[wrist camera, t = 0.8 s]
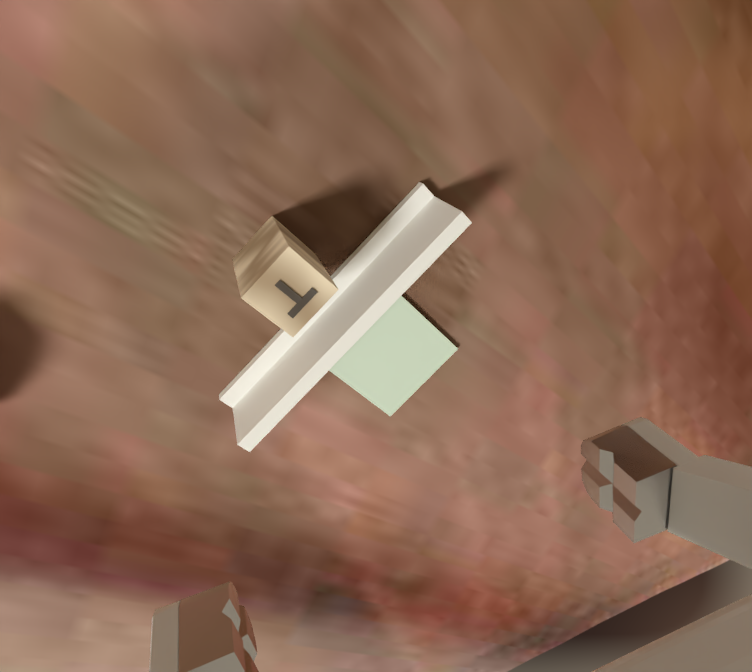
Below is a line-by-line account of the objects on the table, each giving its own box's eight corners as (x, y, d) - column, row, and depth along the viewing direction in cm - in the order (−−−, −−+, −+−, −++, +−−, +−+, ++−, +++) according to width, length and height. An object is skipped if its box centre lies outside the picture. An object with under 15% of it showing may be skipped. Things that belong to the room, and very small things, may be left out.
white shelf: (419, 181, 44) (450, 197, 39) (449, 215, 46) (482, 235, 41) (218, 394, 47) (222, 436, 41) (255, 417, 49) (263, 460, 43)
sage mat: (394, 288, 47) (395, 290, 47) (456, 346, 52) (458, 348, 51) (321, 363, 48) (322, 365, 48) (389, 414, 53) (390, 416, 52)
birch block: (272, 215, 42) (289, 246, 35) (315, 253, 44) (338, 290, 37) (232, 259, 42) (241, 298, 35) (276, 294, 44) (293, 338, 37)
